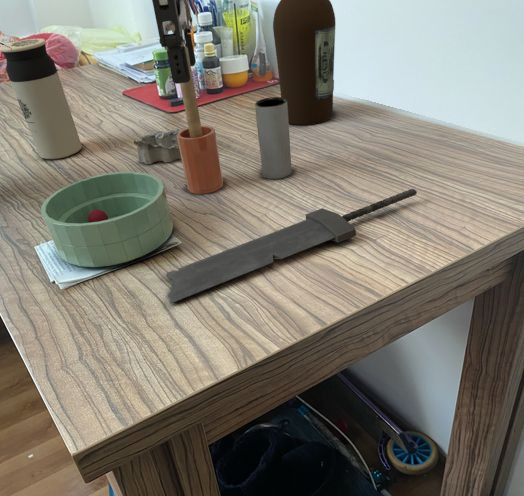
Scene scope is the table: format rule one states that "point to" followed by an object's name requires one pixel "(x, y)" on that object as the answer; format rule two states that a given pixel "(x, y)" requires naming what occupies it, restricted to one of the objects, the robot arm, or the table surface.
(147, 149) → the egg carton
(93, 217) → the bead
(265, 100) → the grey tube
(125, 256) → the bowl
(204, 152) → the utensil pot
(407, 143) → the table surface
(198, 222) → the table surface
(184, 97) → the wooden stick
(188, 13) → the robot arm
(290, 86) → the olive oil
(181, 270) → the toy broadsword
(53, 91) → the travel mug
